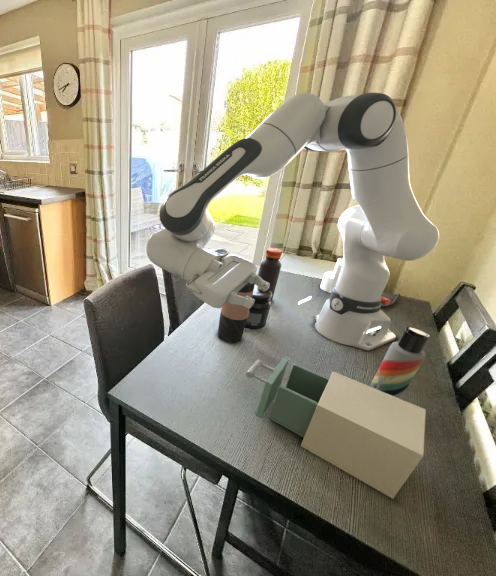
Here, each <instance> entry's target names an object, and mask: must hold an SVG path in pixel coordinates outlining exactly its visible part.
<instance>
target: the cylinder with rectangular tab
mask: <svg viewBox="0 0 496 576" xmlns="http://www.w3.org/2000/svg"><path fill="white" fill-rule="evenodd" d="M342 263H343V258H339V257H338V258H337V260H336V263H335V266H334V269H333V271H326V272H324V274H323V277H322V280H321V283H320V286H319V288H320V289H321V290H322V291H324V292H325V293H329V294H330V293H331V291H332V289H333V288H334V287H335V286H336V283H337V280H338V277H339V274H340V271H341V268H342Z"/></svg>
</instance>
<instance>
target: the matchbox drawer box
mask: <svg viewBox="0 0 496 576" xmlns="http://www.w3.org/2000/svg"><path fill="white" fill-rule="evenodd" d="M329 378H330V379H329V381H328V383H327V385H326V388H325V390H324V392H323V394H322V396H321V399H320V401H319V403H318V405H317V408H316V410H315V412H314V415H313V417H312V419H311V422H310V424H309V427H308V429H307V431H306V434H305V436H304V438H303V439H302V441H301V443H300V447H302V448H304V449H305V450H307V451H308V452H310V453H312V454H314V455H316V456H317V457H319V458H321V459H322V460H325V461H326V462H328V463H329V464H331V465H333V466H335V467H336V468H338V469H340V470H342V471H344V472H345V473H347V474H348V475H350V476H352V477H353V478H356V479H357V480H359V481H361V482H363V484H366V485H368V486H370V487H371V488H373V489H374V490H377V491H378V492H380V493H381V494H383V495H385V496H387V497H389V498H391V499H393V500H394V499H395V497H396V495H397V494H398V493H399V491H400V490H401V488H402V487H403V486H404V485H405V483H406V482H407V481H408V478H410V476H411V475H412V473H413V472H414V470H415V469H416V467H417V466H418V465H419V463H420V462H421V460H422V459H423V458H424V454H425V453H424V451H425V434H426V433H425V432H426V414H427V413H426V411H427V409H426V408H423V407H422V406H421V407H420V406H418V405H416V404H414V403H411V402H409V401H407V400H405V399H404V400H403V399H402V398H401V399H399V398H396V397H394V396H392V395H389V394H387V393H384V392H382V391H379V390H377V389H375V388H372V387H370V385H368V384H365V383H362V382H360V381H358V380H355V379H353V378H350V377H348V376H345V375H343V374H340V373H338V372H335V371H332V373H331V374H330V376H329Z"/></svg>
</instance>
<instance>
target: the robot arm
mask: <svg viewBox="0 0 496 576" xmlns="http://www.w3.org/2000/svg"><path fill="white" fill-rule="evenodd" d="M303 149H304V150H307V151H312V152H313V151H320V152H337V151H346V153H347V165H348V173H349V182H350V183H349V184H350V191H351V197H352V198H353V201H355V202H356V205H353V206H350V207H348V208H347V209H345V210H344V211H343V212H342V214H341V215H340V216H339V218H338V221H337V230H338V232H339V234H340V236H341V241H342V259H343V263H342V268H341V271H340V274H339V277H338V280H337V283H336V286H335V287H334V288H333V289H332V291H331V293H329V297H328V298H327V299H326V300H325V302H324V304H323V306H322V308H321V310H320V312H319V314H316V315H315V317H314V318H315V322H314V328H315V330H316V332H318V334H320V335H321V336H323V337H325V338H327V339H328V340H330V341H333V342H335V343H338V344H340V345H341V344H342V345H346V346H349V347H351V346H352V347H355V348H358V349H360V350H364V351H371V350H374V349H376V348H379V347H380V346H383V345H385V344H387V343H391V342H392V341H395V340H396V338H397V336H396V334H395V333H394V332H393V331H391V330H390V327H391V325H392V320H391V318H390V317H389V316H388V315H387V314H386V313H385V311H383V310H382V308H388V307H391V306H393V305H394V304H395V303H396V301H397V300H398V299H399V297H400V296H401V293H399V292H398V293H396V295H397V296H395V297H394V298H393V300H392V301H391V299H390V298H387V297H385V296H382V295H383V294H384V290H385V288H386V286H387V285H388V282H389V280H390V275H391V273H390V270H389V268H388V265H387V263H386V259H385V257H387V258H390V259H394V260H395V259H396V260H400V261H407V262H409V261H412V262H413V261H417V260H419V259H421V258H423V257H425V256H427V255H428V254H430V253H431V252H432V251H433V250H434V249H435V247H436V246H437V244H438V243H439V239H440V232H439V229H438V227H437V226H436V225H434V224H433V223H432V222H431V221H430V220H429V218H427V216H426V215H425V214H424V212H423V211H422V209H421V207H420V205H419V203H418V201H417V199H416V196H415V194H414V192H413V189H412V184H411V180H410V178H411V177H410V164H409V163H410V162H409V161H410V160H409V145H408V137H407V131H406V128H405V123H404V121H403V117H402V116H401V114H400V113H399V112H397V108H396V104H395V102H394V100H393V99H392V98H391V97H390V96H389V95H388V94H386V93H382V92H364V93H361V94H353V95H352V94H351V95H346V96H345V95H344V96H341V97H338V98H335V99H332V100H329V101H326V102H323V101H322V100H321V98H319V96H318V95H315V94H314V93H311V92H300V93H297V94H294V95H292V96H291V97H290V98H288V99H287V100H286V101H284V102H283V103H282V104H281V105H279V106H278V107H277V108H276V109H274V110H273V111H272V112H271V113H270V114H269V115H268V116H267V117H266V118H265V119H264V120H262V121H261V123H260V124H259V125H258V126H257V127H256V128H255V129H254V130H252V132H251V133H249V134H248V135H247V136H245V137H244V138H241V139H239V140H238V141H236V142H234V143H233V144H231V145H230V146H229V147H228V148H227V149H225V150H224V151H223V152H222V153H221V154H219V155H218V156H217V157H216V158H215V159H213V161H211V162H210V163H209V164H208V165H207V166H205V167H204V169H202V170H201V171H200V172H199V173H198V174H197V175H195V176H194V177H193V178H192V179H191V180H189V181H188V182H186V183H185V184H183V185H181V186H179V187H178V188H176V189H174V190H172V191H171V192H170V193H168V195H166V197H165V198H164V199H163V200H162V202H161V205H160V206H159V215H158V216H159V221H160V223H161V226H163V228H162V229H160V230H158V231H155V232H153V233H152V234H151V235H150V236H149V238H148V240H147V242H146V243H147V244H146V256H147V258H148V259H149V261H150V262H151V263H152V264H154V265H155V266H157V267H158V268H160V269H162V270H164V271H165V272H168V273H169V274H173V275H177V276H179V277H180V278H181V279H182V280H183V281H186V282H185V287H186V289H187V290H188V291H190V292H192V294H193V296H195V297H196V298H198V299H199V300H201V301H202V302H203V303H205V304H207V305H208V306H210V307H211V308H214V309H221V308H222V306H223V305H224V304H225V303H226V302H229V303H231V304H235V305H242V306H244V307H246V308H251V307H252V306H253V304H254V302H255V300H254V299H253V298H251V297H249V296H247V297H243V296H239V295H237V292H238V291H239V290H241V289H242V288H243V287H244V286H245V285H246V284H247V283H251V284H253V283H254V284H255V285H256V286H258V287H259V288H258V289H260V290H262V291H266V290H268V288H269V286H270V283H268V282H266V281H264V280H263V279H262V278H261V277H260V276H258V273H257V272H258V271H257V270H258V265H256V264H255V263H254V262H252V261H250V260H248V259H246V258H245V257H242V256H239V255H237V254H233V253H230V251H229V249H226V248H221V247H220V248H217V249H205V246H207V244H208V242H209V241H210V240H211V239H212V237H213V235H214V232H215V221H214V219H213V217H212V215H211V213H210V212H209V210H208V207H209V205H210V203H211V201H212V200H214V199H215V198H216V197H217V196H218V195H219V194H221V193H222V192H223V191H224V190H225V189H226V188H227V187H228V186H230V185H231V184H232V183H233V182H234V181H235V180H237V179H238V178H239V177H242V176H245V175H247V176H250V177H252V178H254V179H266V178H267V179H268V178H272V177H273V176H274V175H276V174H277V173H278V172H280V171H282V169H284V168H285V167H286V166H288V164H289V163H291V162H292V160H293V159H295V157H296V156H297V155H298V154H299V153H300V152H301V151H302V150H303ZM312 298H313V297H312V295H309V296H308V297H306V298H304V299H301V300H299V301H298V303H297V305H301V304H303V303H305V302H308V301H310V300H312Z"/></svg>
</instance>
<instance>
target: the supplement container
mask: <svg viewBox="0 0 496 576" xmlns="http://www.w3.org/2000/svg"><path fill="white" fill-rule="evenodd" d="M258 288H259V287H258V286H256V285H255V286H254V291H253V295H252V298H253V299H254V300H255V302H254V304H253V306H252V307H251V308H250V309H249V313H248V318H247V321H246V325H245V329H246V330H253V331H254V330H257V331H258V330H261V329H263V328H265V327H266V325H267V321H268V317H269V314H270V310H271V307H272V302H271V301H270V300H271V297H272V292H271V291H270V290H266V291H262V290H260V289H258Z"/></svg>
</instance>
